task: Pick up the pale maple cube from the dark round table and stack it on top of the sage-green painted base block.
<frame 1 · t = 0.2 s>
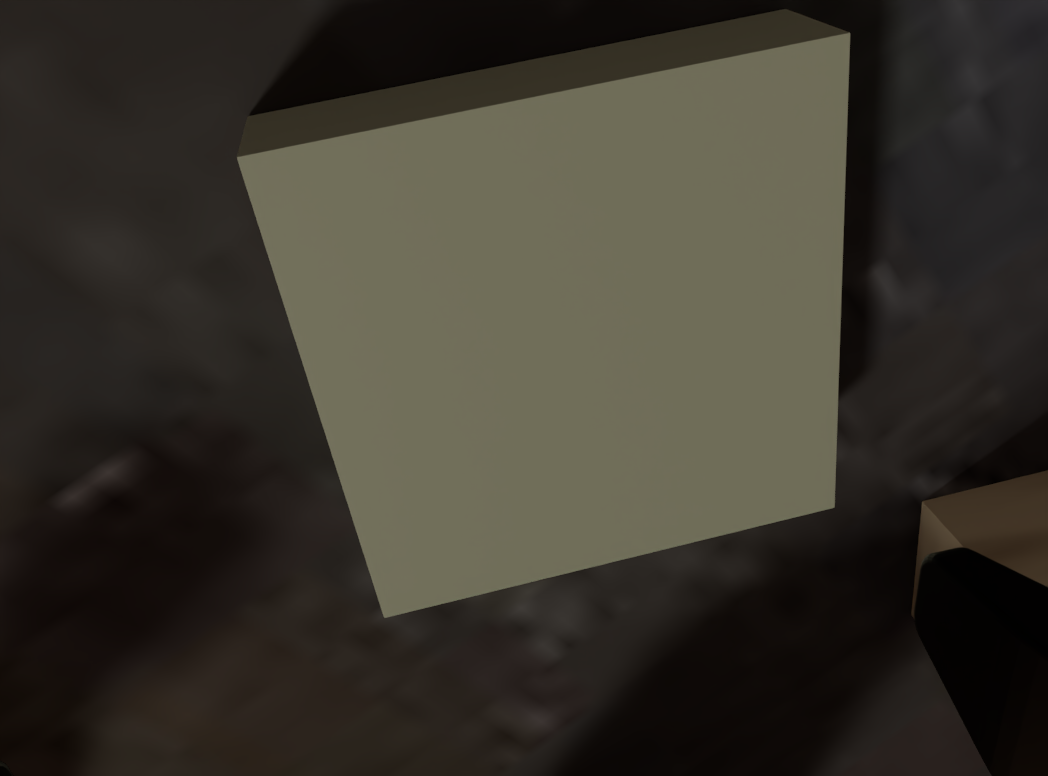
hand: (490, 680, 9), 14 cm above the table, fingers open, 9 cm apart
sage base: (558, 305, 23), on the table
maple cube: (986, 540, 31), on the table
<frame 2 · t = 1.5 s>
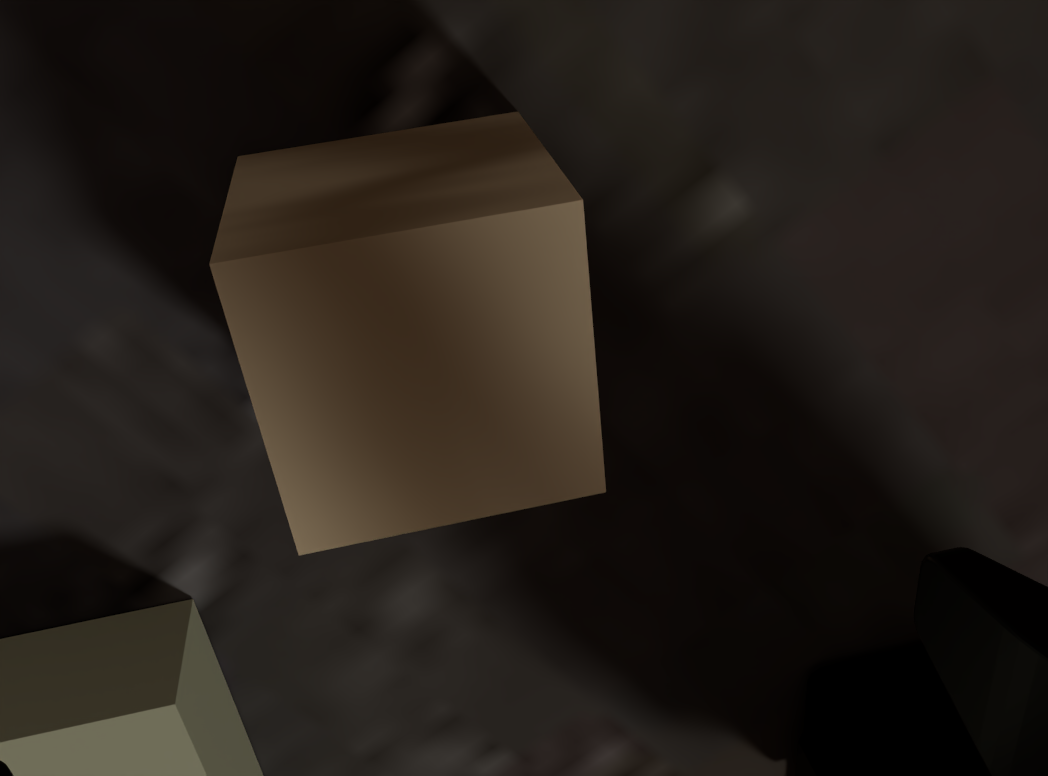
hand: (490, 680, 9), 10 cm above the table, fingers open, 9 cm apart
maple cube: (404, 261, 18), on the table
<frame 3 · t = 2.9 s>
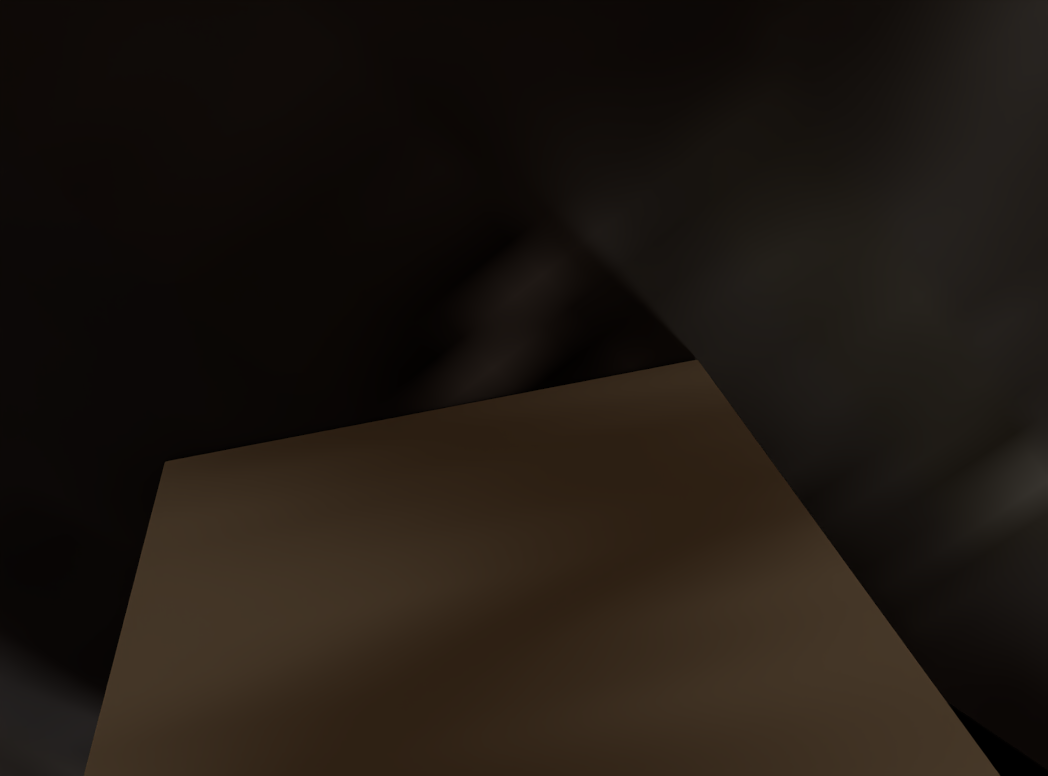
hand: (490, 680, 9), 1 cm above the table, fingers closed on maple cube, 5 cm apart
maple cube: (475, 605, 10), on the table, touching gripper
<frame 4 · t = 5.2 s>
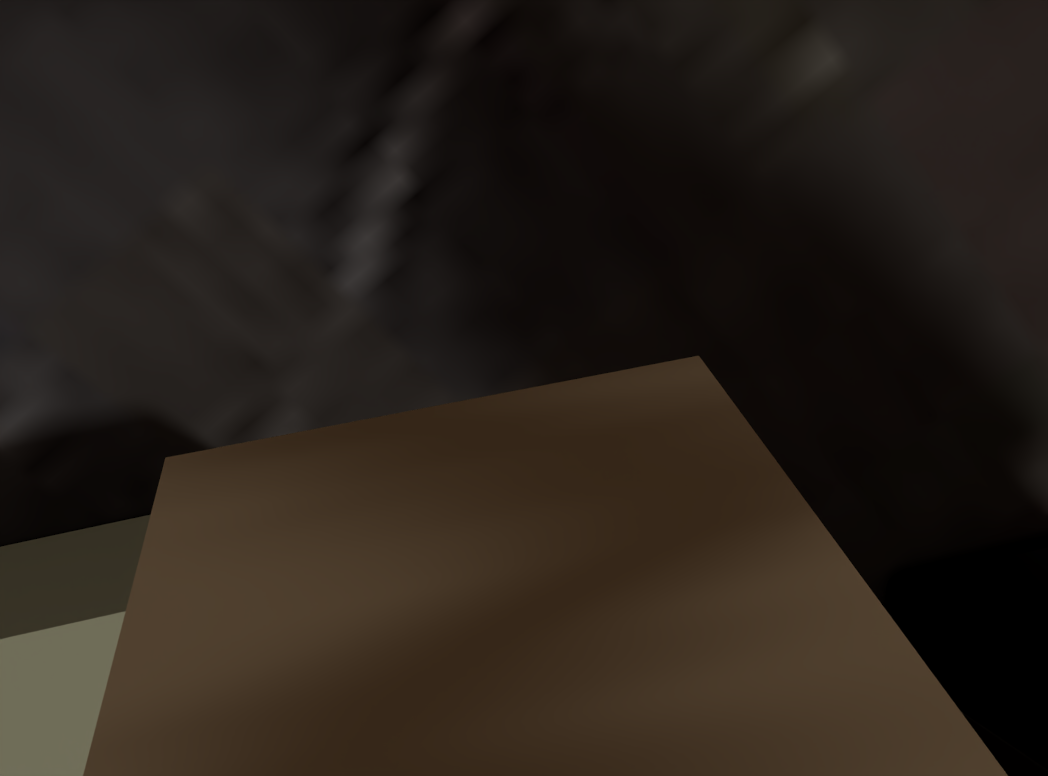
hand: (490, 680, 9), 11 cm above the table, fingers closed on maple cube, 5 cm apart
sage base: (94, 733, 23), on the table
maple cube: (476, 602, 10), point 10 cm above the table, touching gripper
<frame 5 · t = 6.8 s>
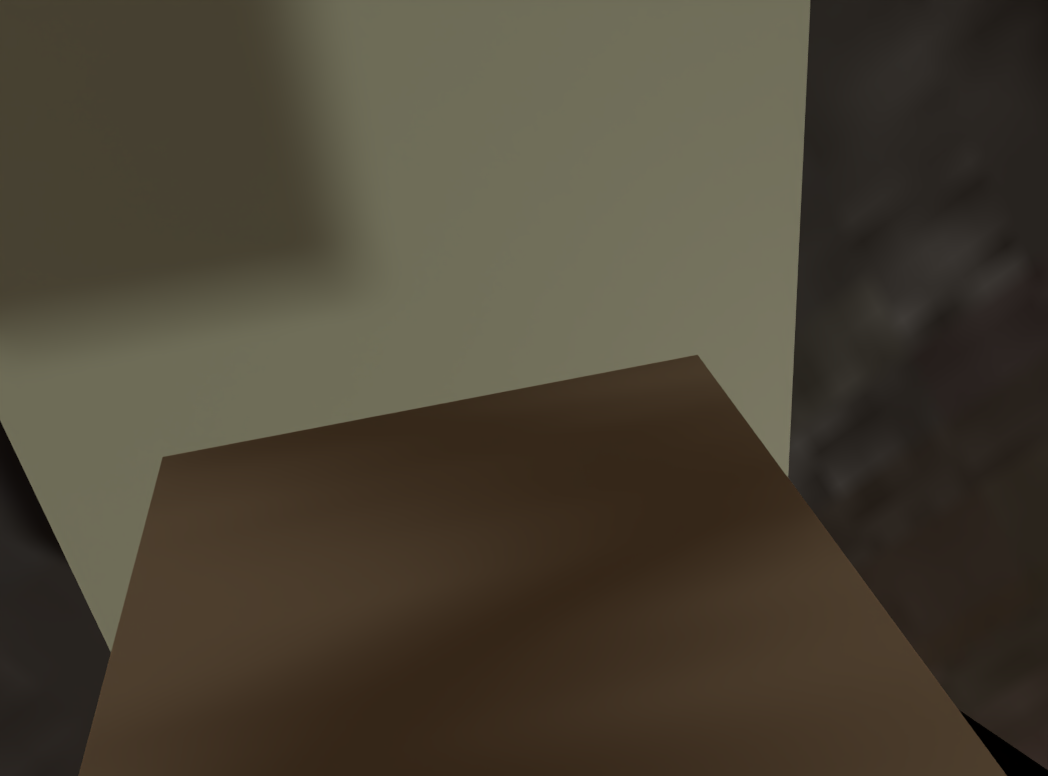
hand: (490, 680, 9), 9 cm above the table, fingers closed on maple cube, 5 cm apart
sage base: (407, 297, 17), on the table
maple cube: (474, 602, 10), point 8 cm above the table, touching gripper
when the fingers open (5 cm above the table, at t = 7.9 s): maple cube drops 1 cm, resting on sage base.
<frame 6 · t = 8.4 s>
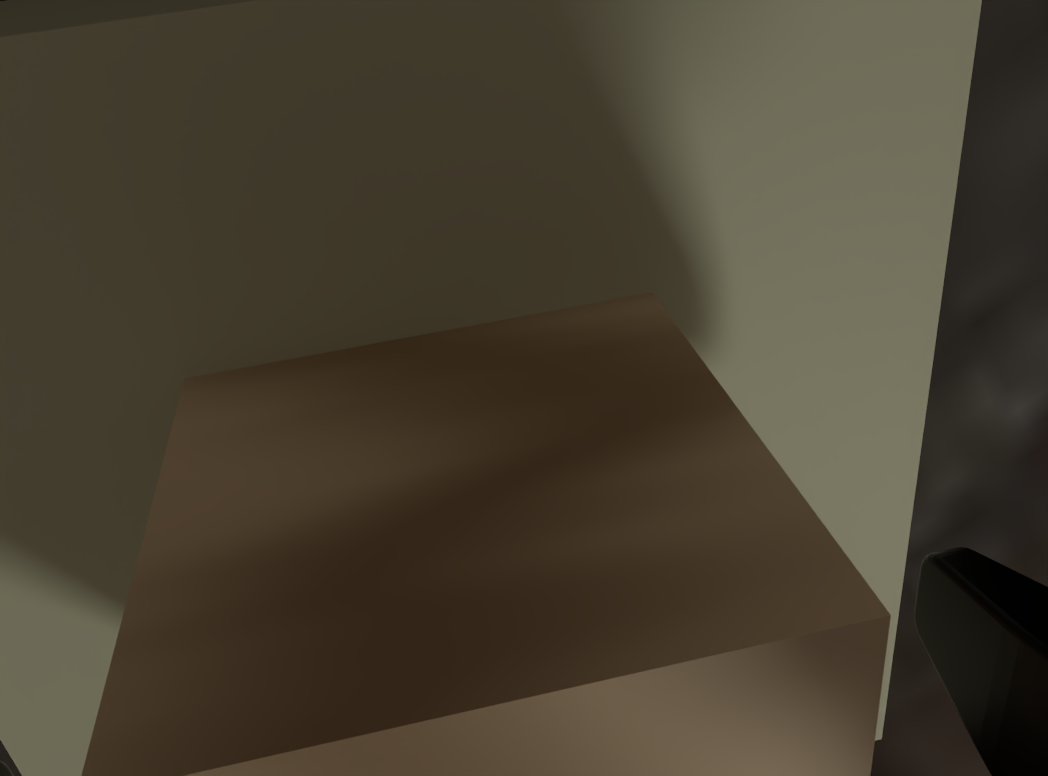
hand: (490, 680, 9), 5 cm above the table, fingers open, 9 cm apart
sage base: (431, 397, 14), on the table
maple cube: (458, 518, 11), point 3 cm above the table, touching sage base
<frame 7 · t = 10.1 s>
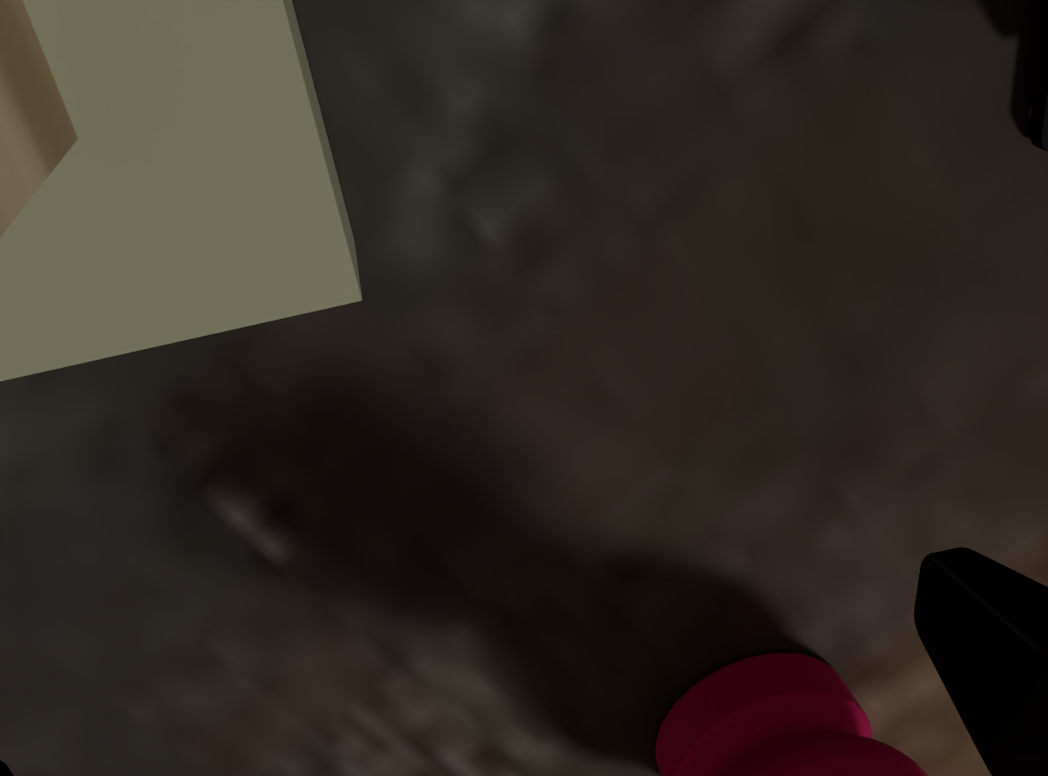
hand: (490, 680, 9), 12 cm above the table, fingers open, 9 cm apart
pepper mill: (747, 719, 29), on the table
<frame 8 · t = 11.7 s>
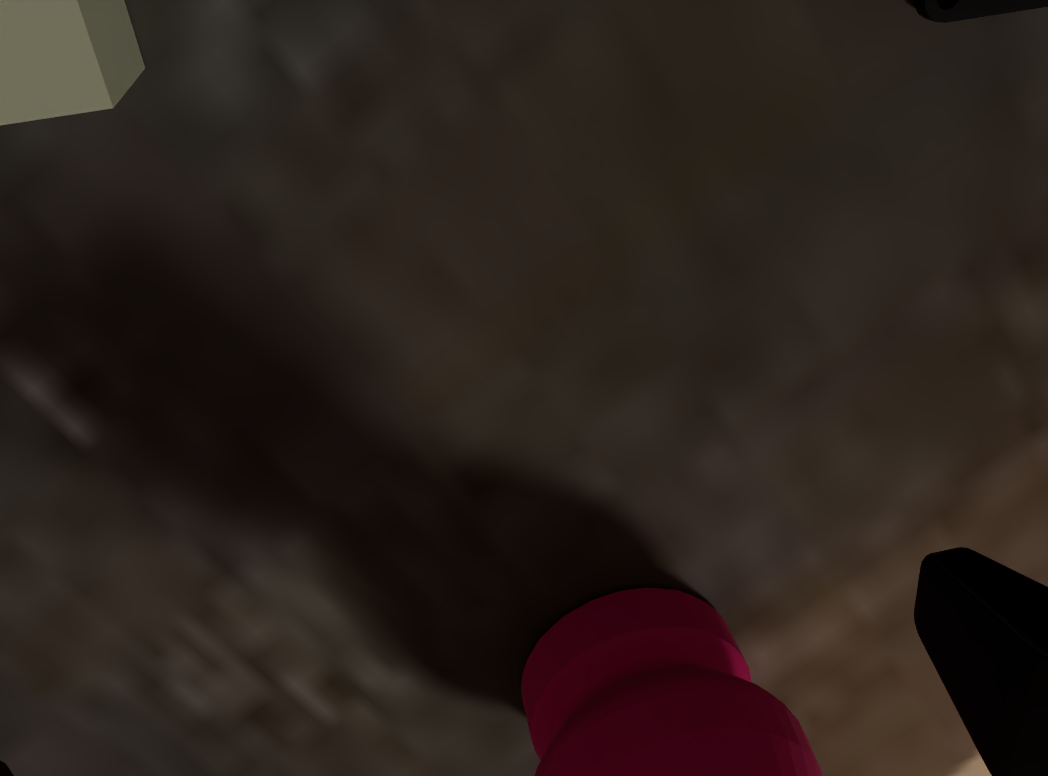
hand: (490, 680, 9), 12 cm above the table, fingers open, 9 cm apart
pepper mill: (624, 662, 27), on the table
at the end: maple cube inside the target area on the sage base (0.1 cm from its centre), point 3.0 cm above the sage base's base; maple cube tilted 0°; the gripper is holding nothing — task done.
